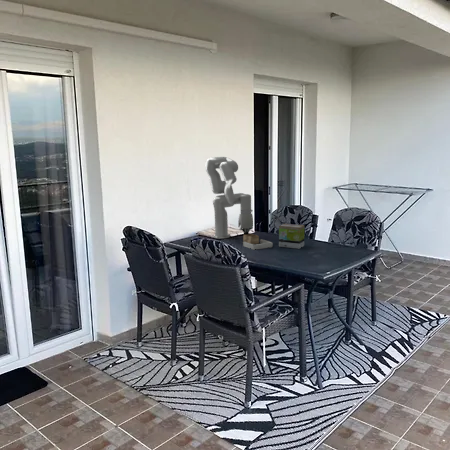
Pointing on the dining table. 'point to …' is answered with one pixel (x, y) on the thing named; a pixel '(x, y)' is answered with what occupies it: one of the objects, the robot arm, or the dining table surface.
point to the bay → (258, 245)
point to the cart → (251, 239)
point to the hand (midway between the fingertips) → (246, 237)
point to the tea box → (291, 235)
